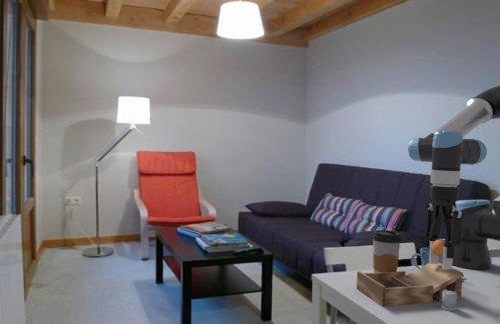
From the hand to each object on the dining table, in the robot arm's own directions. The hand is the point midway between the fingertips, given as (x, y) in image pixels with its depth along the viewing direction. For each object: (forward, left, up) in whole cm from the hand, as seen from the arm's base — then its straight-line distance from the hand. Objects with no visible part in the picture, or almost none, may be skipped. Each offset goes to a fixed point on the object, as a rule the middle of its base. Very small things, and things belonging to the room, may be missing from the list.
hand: (440, 265), depth 125 cm
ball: (0, 0, +5) cm, 5 cm away
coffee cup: (+10, -12, -8) cm, 17 cm away
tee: (+6, +11, -8) cm, 14 cm away
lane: (+10, 0, -8) cm, 12 cm away
